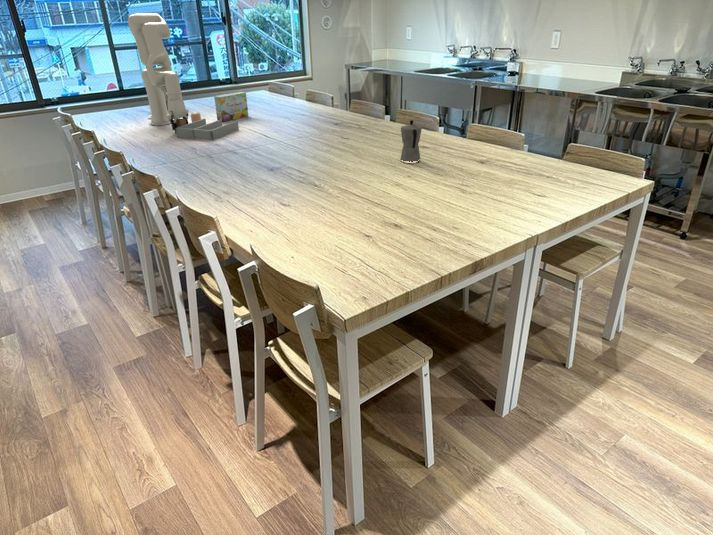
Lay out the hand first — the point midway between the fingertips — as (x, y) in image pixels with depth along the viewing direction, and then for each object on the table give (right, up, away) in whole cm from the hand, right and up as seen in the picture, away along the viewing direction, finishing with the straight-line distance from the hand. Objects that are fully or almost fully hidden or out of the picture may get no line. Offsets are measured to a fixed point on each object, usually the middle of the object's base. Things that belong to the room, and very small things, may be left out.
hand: (180, 128), depth 278 cm
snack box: (+22, +15, +32) cm, 41 cm away
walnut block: (0, -2, +1) cm, 2 cm away
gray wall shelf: (+17, -4, -3) cm, 17 cm away
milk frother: (-30, +29, +60) cm, 73 cm away
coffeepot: (+124, -32, -59) cm, 141 cm away
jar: (+5, +5, +14) cm, 15 cm away
